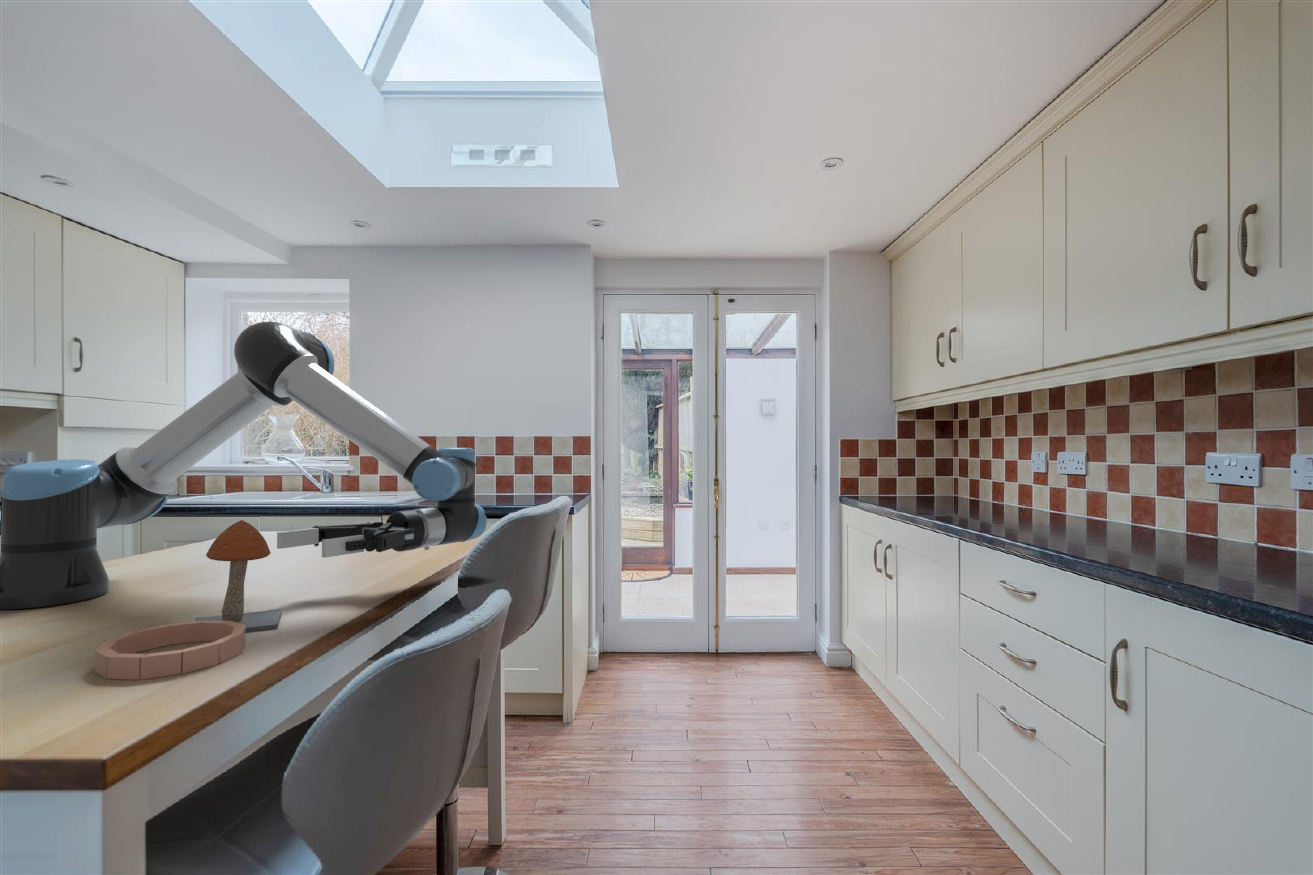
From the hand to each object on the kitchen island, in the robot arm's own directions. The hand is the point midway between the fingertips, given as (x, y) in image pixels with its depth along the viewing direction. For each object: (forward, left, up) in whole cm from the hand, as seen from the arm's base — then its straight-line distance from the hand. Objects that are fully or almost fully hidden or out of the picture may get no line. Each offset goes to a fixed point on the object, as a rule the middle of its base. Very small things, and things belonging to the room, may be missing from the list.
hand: (299, 544), depth 97 cm
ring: (+17, -13, -11) cm, 24 cm away
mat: (+4, -8, -11) cm, 14 cm away
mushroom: (+4, -8, -10) cm, 14 cm away
